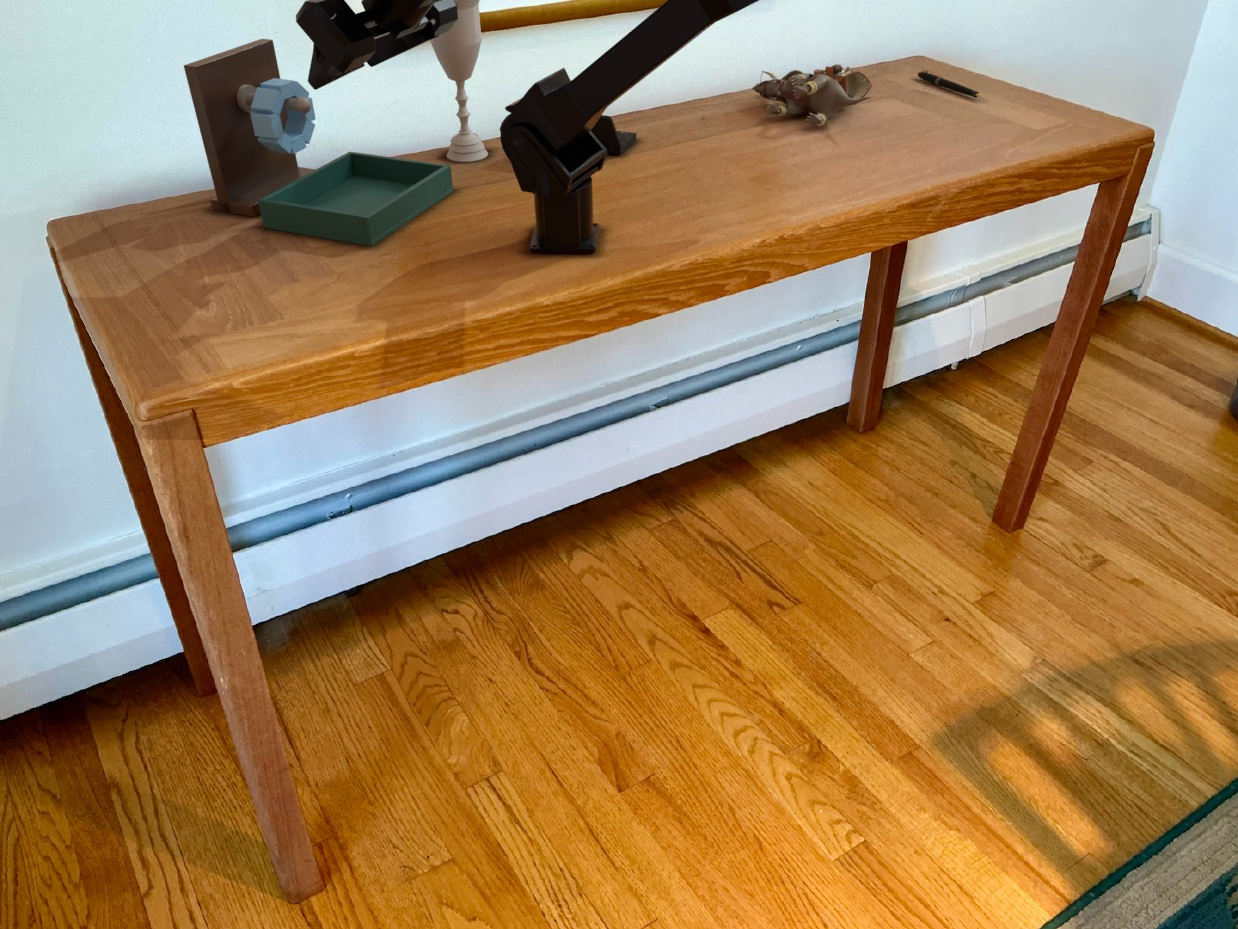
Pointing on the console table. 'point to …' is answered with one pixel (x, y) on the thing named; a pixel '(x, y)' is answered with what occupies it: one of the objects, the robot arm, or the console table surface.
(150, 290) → the console table surface
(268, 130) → the blue segmented ring
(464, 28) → the chalice
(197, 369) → the console table surface
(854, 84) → the figurine
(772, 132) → the console table surface
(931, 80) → the fountain pen
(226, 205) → the hook rack
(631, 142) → the bookend
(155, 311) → the console table surface
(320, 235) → the tray
